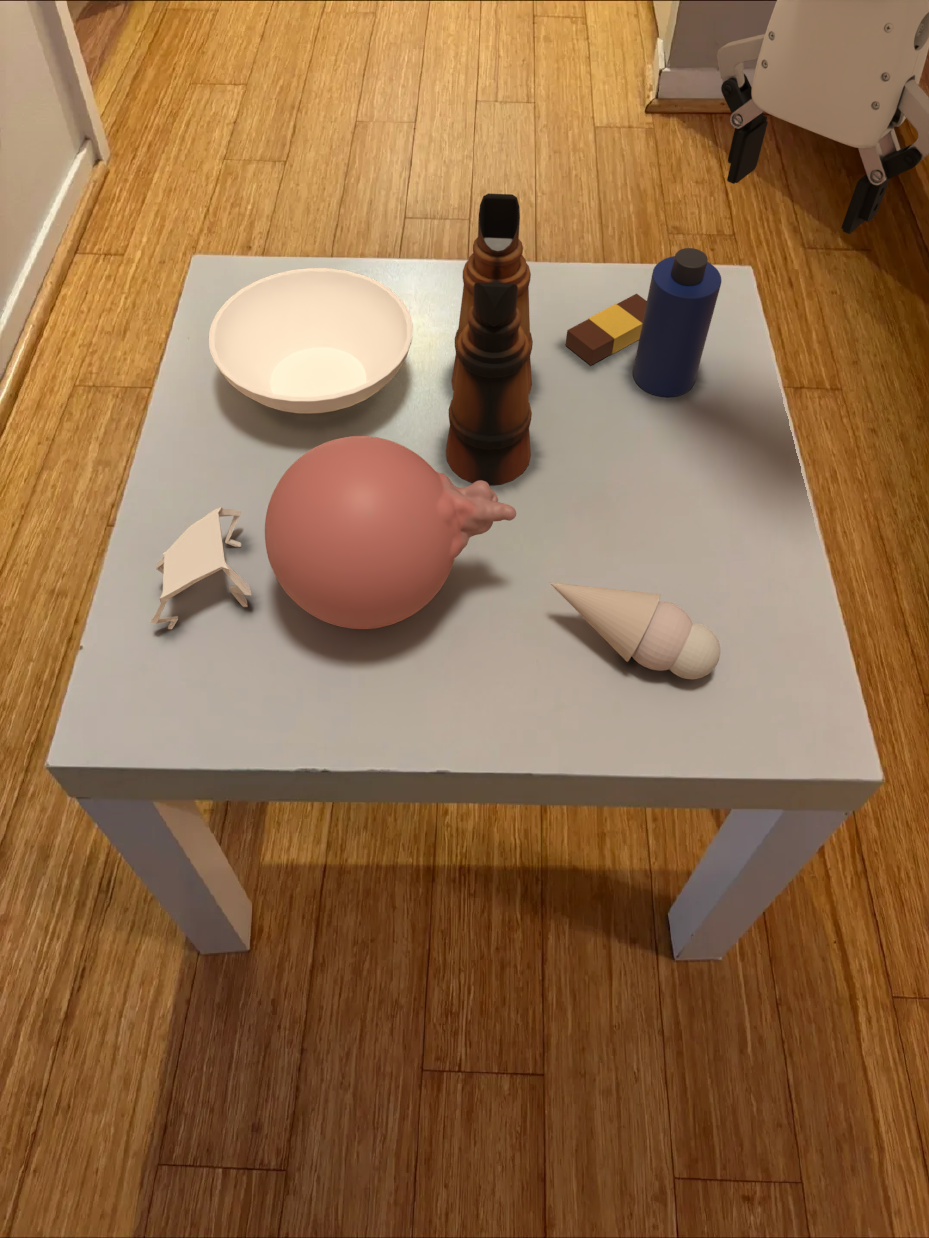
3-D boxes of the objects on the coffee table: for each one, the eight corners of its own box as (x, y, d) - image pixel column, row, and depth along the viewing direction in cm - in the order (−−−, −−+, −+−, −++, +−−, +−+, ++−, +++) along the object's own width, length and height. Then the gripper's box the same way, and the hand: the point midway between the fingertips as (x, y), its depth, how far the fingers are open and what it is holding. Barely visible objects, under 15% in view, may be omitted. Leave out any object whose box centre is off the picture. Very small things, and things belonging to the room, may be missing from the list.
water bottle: (706, 374, 101) (740, 256, 90) (672, 406, 99) (701, 288, 87) (655, 346, 104) (681, 228, 92) (620, 377, 101) (642, 259, 89)
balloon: (514, 664, 81) (526, 547, 68) (271, 665, 80) (238, 548, 68) (506, 521, 90) (516, 394, 77) (287, 522, 89) (261, 394, 77)
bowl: (449, 358, 102) (449, 304, 96) (350, 481, 92) (344, 428, 87) (291, 301, 107) (282, 246, 101) (182, 411, 97) (166, 357, 92)
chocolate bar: (633, 308, 107) (636, 292, 105) (659, 328, 105) (663, 312, 104) (564, 345, 104) (566, 329, 102) (591, 366, 102) (593, 350, 100)
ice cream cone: (539, 605, 84) (699, 683, 83) (527, 624, 78) (699, 707, 77) (569, 542, 82) (733, 620, 81) (560, 557, 76) (736, 641, 75)
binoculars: (453, 353, 103) (454, 173, 86) (532, 356, 102) (548, 177, 86) (443, 483, 92) (441, 307, 76) (530, 487, 92) (547, 311, 76)
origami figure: (250, 640, 82) (239, 606, 78) (150, 635, 82) (135, 601, 78) (273, 530, 89) (265, 493, 85) (182, 525, 89) (169, 489, 85)
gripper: (1039, -41, 58) (926, 222, 72) (782, -116, 64) (725, 139, 78) (984, 2, 54) (877, 269, 68) (720, -82, 61) (671, 178, 75)
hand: (796, 199), depth 73 cm, fingers open, 9 cm apart
